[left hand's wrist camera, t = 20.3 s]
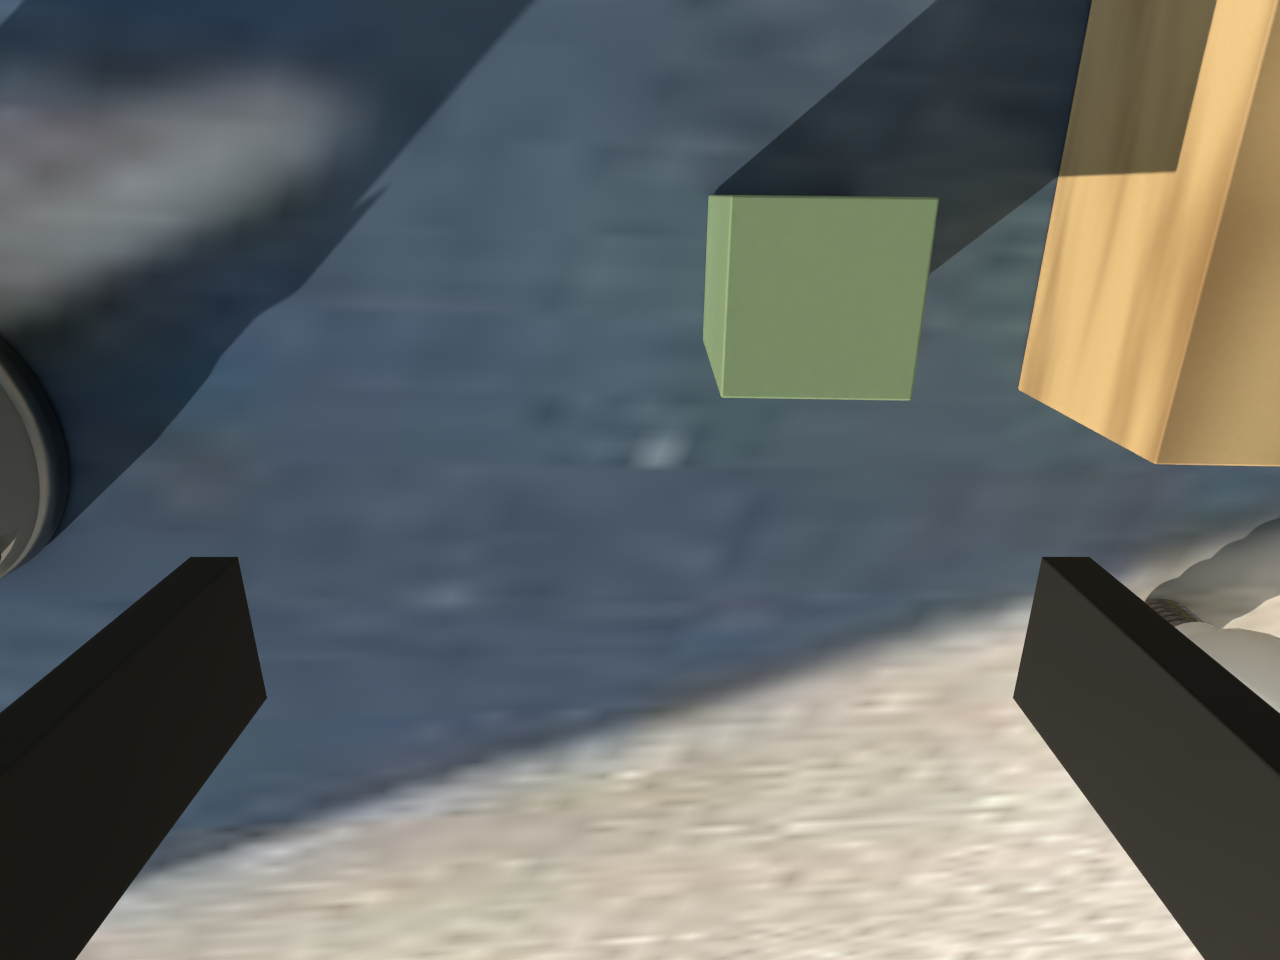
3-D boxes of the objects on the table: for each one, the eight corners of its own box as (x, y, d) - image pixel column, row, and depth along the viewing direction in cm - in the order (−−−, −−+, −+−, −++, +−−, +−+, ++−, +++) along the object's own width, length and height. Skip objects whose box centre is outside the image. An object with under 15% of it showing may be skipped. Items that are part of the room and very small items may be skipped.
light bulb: (1059, 640, 38) (1207, 806, 28) (1169, 544, 36) (1372, 684, 26) (1147, 711, 40) (1321, 894, 29) (1258, 622, 38) (1486, 785, 27)
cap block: (702, 341, 34) (720, 398, 24) (708, 194, 31) (730, 194, 22) (840, 342, 33) (912, 400, 24) (855, 196, 31) (940, 197, 22)
